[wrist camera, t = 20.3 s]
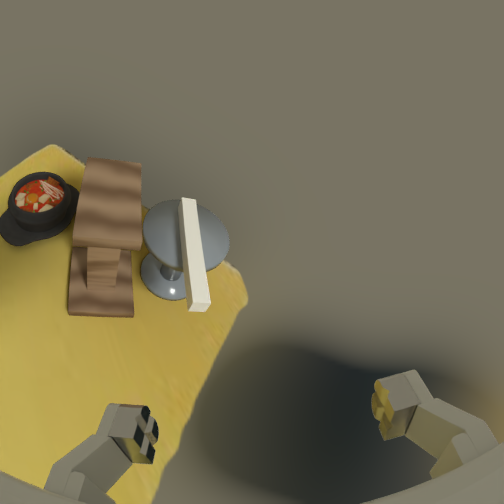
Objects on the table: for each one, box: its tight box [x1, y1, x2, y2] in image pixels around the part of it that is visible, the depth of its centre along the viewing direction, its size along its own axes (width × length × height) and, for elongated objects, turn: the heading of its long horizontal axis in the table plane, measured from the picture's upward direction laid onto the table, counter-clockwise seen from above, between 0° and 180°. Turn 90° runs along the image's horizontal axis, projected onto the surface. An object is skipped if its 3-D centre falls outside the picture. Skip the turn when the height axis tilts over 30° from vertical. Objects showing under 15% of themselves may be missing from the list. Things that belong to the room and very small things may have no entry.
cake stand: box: [141, 200, 229, 301], centre depth 65 cm, size 18×18×16 cm
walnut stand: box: [68, 157, 142, 318], centre depth 51 cm, size 18×14×26 cm
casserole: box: [0, 172, 80, 246], centre depth 59 cm, size 25×19×8 cm
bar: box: [178, 197, 211, 312], centre depth 55 cm, size 24×3×3 cm, turn 14°
